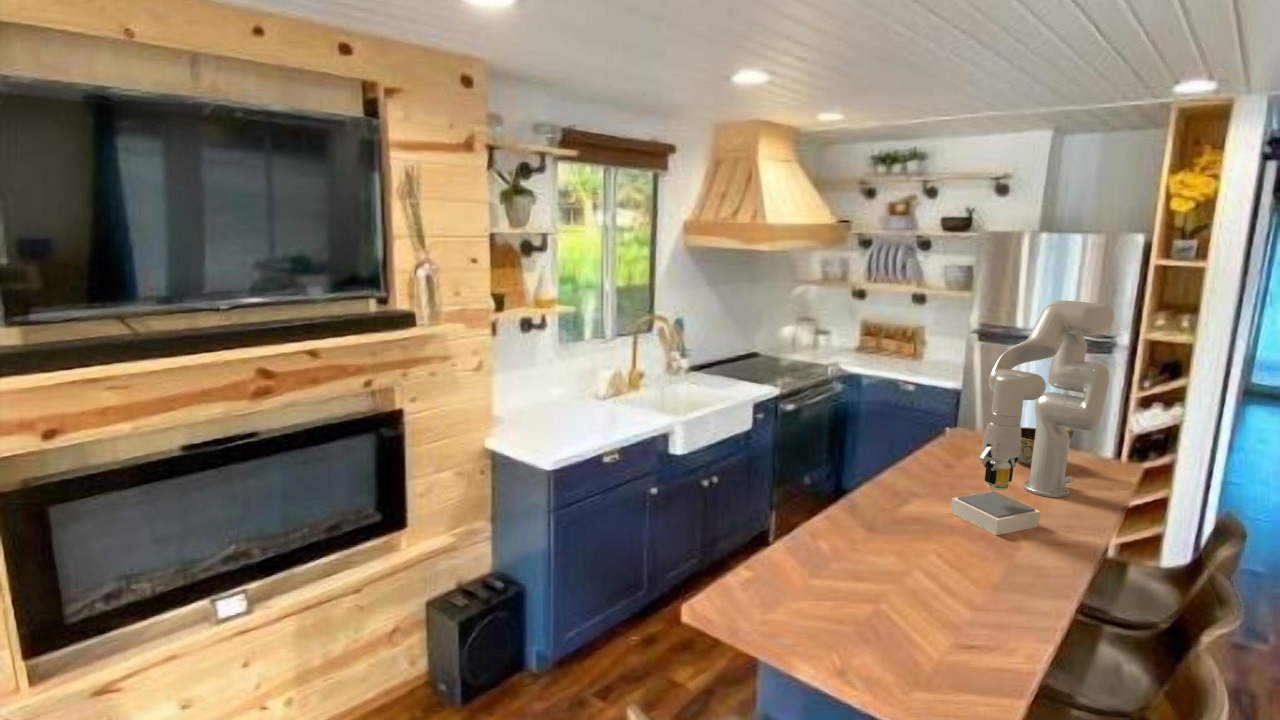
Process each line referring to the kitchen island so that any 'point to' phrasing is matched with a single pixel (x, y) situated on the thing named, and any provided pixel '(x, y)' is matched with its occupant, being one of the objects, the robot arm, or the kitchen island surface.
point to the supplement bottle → (1001, 475)
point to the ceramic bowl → (1031, 443)
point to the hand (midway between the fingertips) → (998, 480)
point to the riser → (995, 512)
